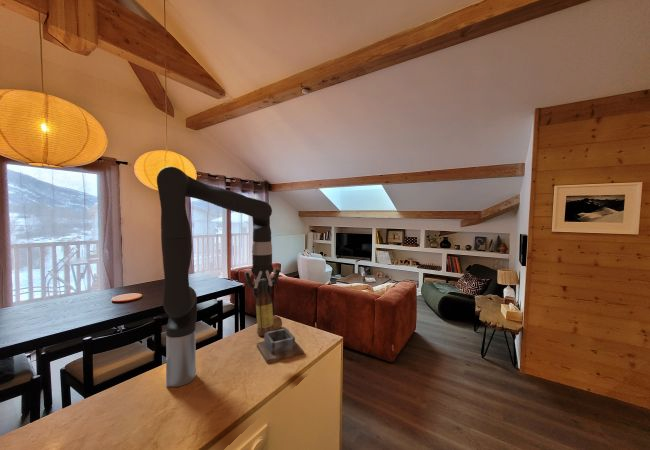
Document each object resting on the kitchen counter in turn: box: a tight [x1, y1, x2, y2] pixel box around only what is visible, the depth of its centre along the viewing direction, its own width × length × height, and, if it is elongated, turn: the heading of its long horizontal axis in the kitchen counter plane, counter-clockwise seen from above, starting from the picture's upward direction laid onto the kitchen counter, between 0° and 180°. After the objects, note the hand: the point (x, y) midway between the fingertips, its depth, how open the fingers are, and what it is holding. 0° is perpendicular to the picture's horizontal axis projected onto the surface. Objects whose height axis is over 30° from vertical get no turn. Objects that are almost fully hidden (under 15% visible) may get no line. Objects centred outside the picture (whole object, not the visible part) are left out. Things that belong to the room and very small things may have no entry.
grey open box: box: [256, 328, 304, 364], centre depth 116 cm, size 16×16×6 cm
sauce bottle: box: [255, 279, 274, 332], centre depth 103 cm, size 7×6×20 cm
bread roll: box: [256, 314, 283, 337], centre depth 134 cm, size 10×15×8 cm, turn 145°
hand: (262, 295), depth 103 cm, fingers closed on sauce bottle, 4 cm apart
